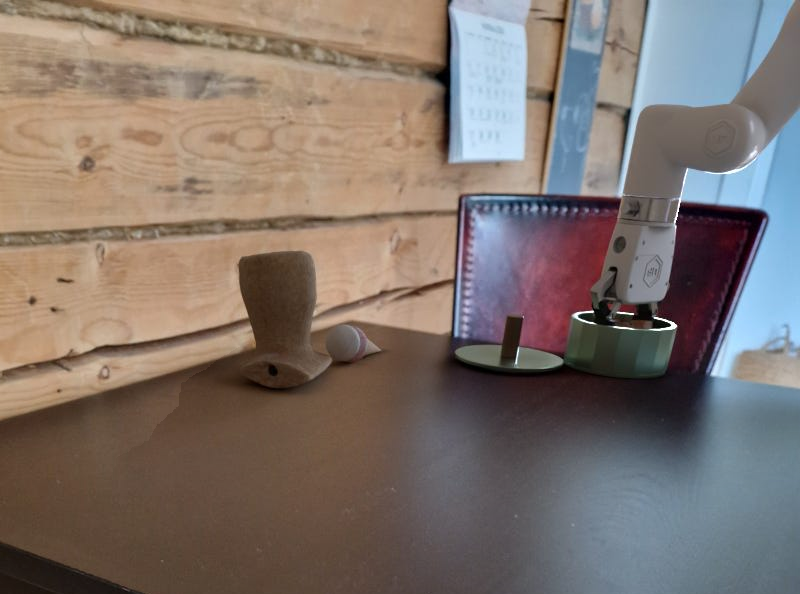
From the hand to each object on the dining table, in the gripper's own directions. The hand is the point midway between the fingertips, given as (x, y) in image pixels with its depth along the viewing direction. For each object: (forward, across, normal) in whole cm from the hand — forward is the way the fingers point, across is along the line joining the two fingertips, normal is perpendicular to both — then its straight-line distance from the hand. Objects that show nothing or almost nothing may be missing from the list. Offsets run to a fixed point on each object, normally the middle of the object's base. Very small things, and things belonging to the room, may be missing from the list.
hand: (618, 345), depth 124 cm
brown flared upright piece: (+3, -49, +15) cm, 51 cm away
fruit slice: (+1, 0, 0) cm, 1 cm away
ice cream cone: (+3, -33, +20) cm, 39 cm away
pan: (+3, 0, 0) cm, 3 cm away
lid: (+2, -14, +8) cm, 16 cm away
